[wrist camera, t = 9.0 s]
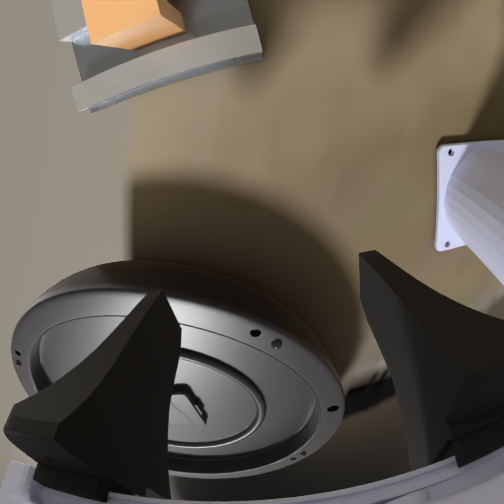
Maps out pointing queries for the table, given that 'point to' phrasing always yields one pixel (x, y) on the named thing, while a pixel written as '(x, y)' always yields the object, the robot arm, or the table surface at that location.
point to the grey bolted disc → (198, 363)
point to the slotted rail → (158, 50)
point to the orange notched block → (131, 22)
